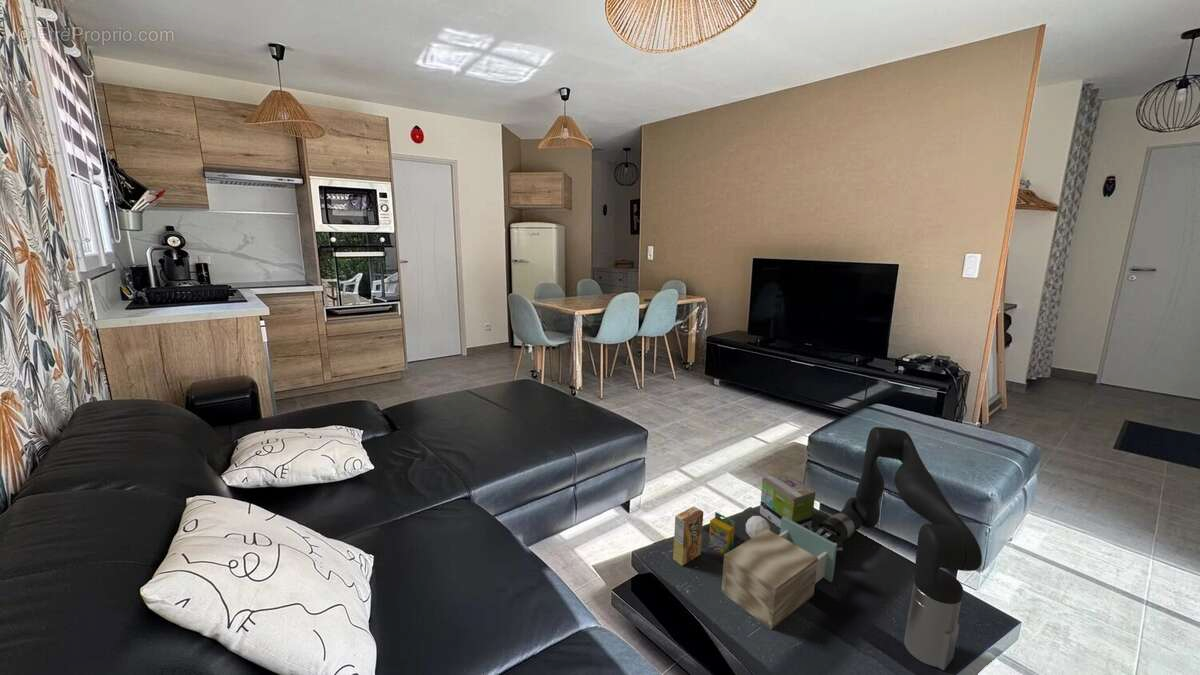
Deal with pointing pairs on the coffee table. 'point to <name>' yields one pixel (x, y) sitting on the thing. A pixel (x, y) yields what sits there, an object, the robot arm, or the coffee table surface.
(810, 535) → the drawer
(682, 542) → the candy box
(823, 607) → the coffee table surface
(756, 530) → the ball
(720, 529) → the crayon box
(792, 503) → the tea box
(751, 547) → the birch box
